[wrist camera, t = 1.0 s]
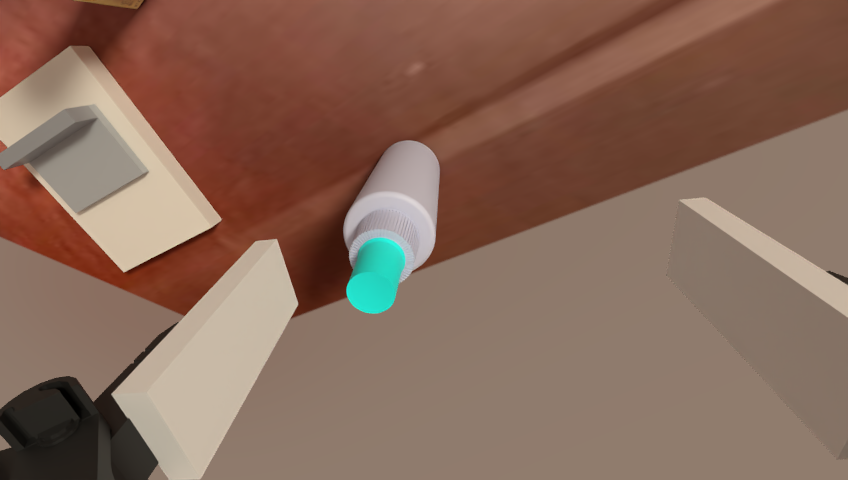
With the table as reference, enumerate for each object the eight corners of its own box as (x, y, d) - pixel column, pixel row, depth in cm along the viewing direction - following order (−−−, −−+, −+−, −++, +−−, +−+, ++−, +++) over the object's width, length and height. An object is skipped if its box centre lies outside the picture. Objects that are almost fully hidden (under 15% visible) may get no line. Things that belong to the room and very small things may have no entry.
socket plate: (-2, 111, 39) (-23, 114, 37) (88, 45, 36) (69, 45, 34) (136, 263, 46) (123, 272, 44) (222, 219, 43) (212, 227, 41)
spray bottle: (368, 154, 39) (287, 265, 19) (424, 129, 38) (398, 219, 18) (396, 207, 41) (348, 354, 21) (449, 184, 40) (450, 320, 20)
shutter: (26, 149, 38) (-8, 158, 36) (95, 104, 36) (64, 108, 33) (82, 210, 41) (54, 222, 38) (149, 171, 39) (124, 181, 36)
